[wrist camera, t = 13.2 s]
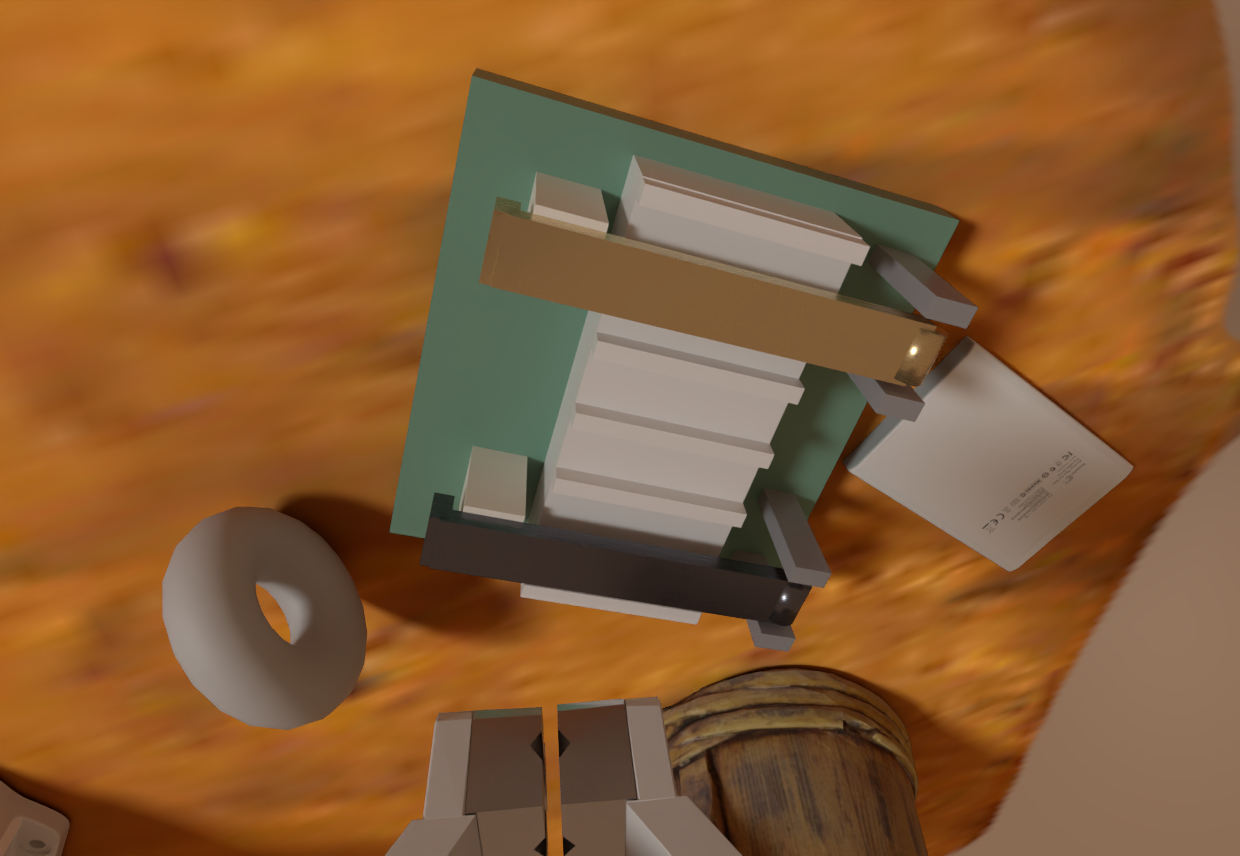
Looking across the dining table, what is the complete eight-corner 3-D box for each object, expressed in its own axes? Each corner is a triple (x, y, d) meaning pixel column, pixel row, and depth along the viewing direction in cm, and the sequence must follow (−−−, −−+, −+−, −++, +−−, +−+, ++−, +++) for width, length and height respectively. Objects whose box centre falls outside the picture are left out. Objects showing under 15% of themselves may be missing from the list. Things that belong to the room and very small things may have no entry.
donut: (398, 587, 40) (359, 757, 32) (346, 615, 41) (293, 789, 32) (256, 451, 35) (164, 609, 27) (199, 486, 36) (92, 650, 28)
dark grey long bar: (783, 599, 35) (795, 631, 34) (424, 538, 32) (417, 571, 30) (804, 559, 34) (817, 590, 32) (434, 492, 31) (427, 523, 29)
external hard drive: (961, 329, 36) (1118, 452, 40) (838, 455, 39) (996, 557, 43) (977, 344, 34) (1138, 470, 39) (849, 474, 37) (1011, 576, 42)
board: (759, 569, 42) (798, 681, 35) (396, 506, 38) (366, 619, 31) (937, 206, 32) (1035, 269, 26) (476, 68, 28) (456, 101, 22)
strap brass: (903, 369, 30) (925, 394, 28) (482, 265, 26) (477, 287, 24) (933, 312, 28) (958, 334, 27) (496, 196, 25) (493, 213, 23)
